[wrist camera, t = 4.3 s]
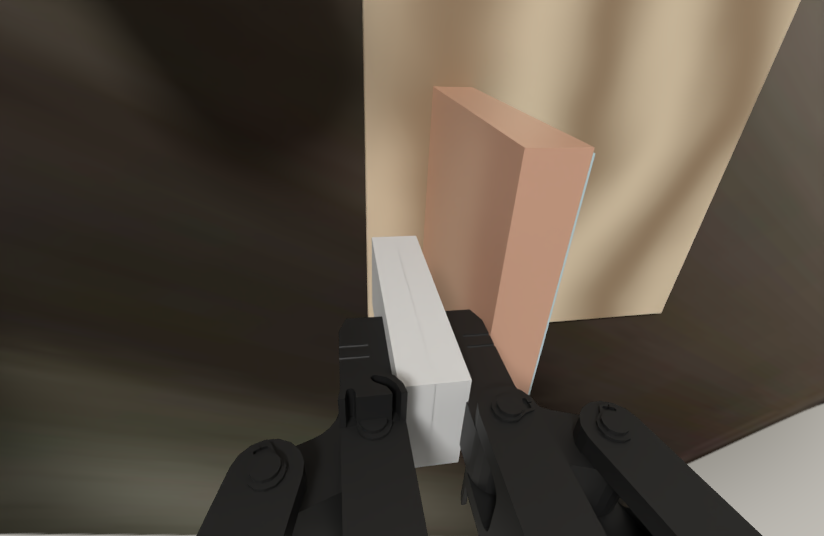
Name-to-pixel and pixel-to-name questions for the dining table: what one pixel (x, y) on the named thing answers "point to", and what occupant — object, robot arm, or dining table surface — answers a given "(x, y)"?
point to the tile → (501, 217)
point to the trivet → (577, 117)
